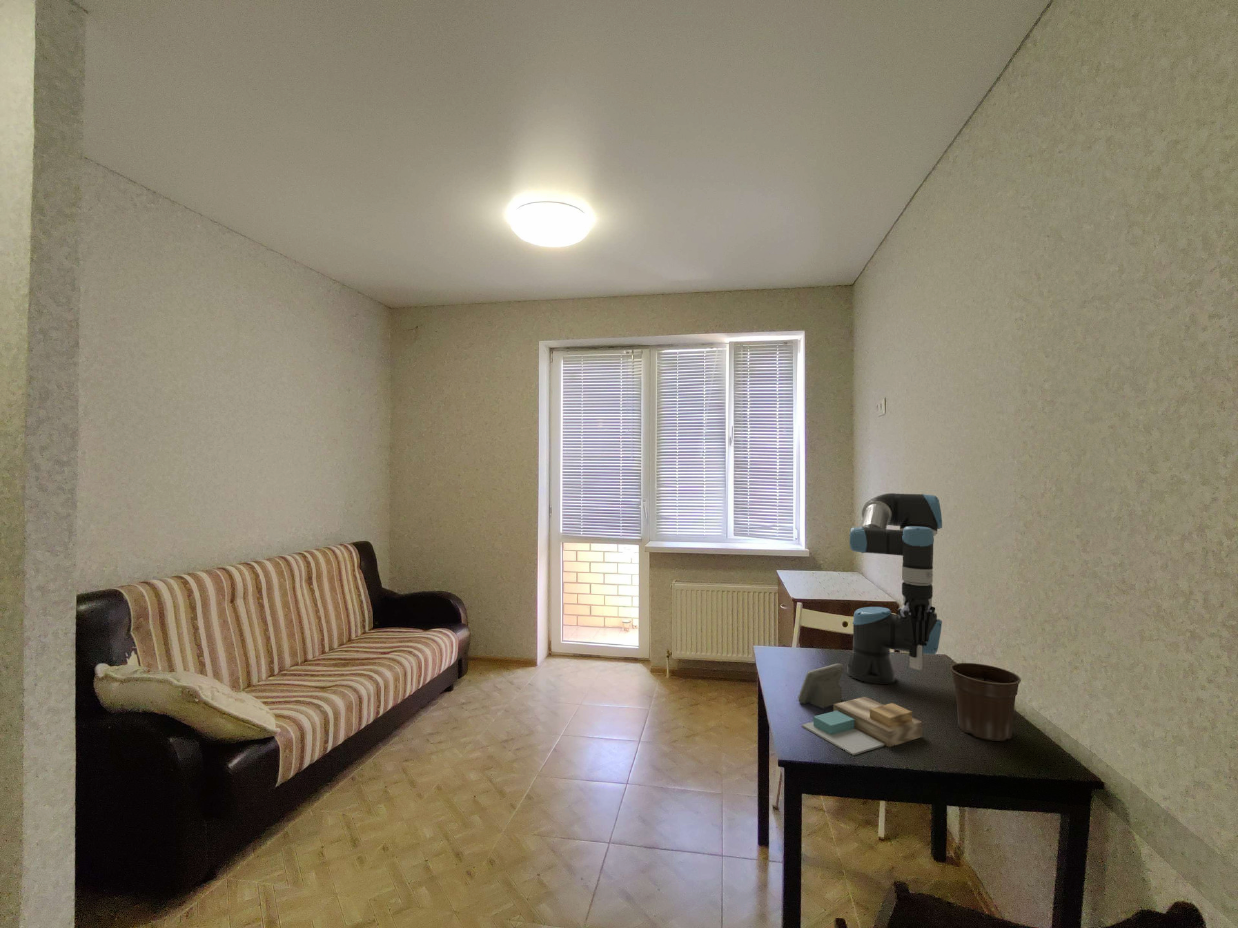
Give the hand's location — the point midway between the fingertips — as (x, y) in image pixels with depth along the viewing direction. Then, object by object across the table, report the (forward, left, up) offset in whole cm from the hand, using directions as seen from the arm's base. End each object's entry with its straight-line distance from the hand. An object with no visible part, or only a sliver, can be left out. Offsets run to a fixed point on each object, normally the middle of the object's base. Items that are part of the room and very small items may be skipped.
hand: (915, 668), depth 155 cm
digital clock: (+10, -24, -17) cm, 31 cm away
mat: (+23, -5, -16) cm, 28 cm away
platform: (+10, -5, -16) cm, 20 cm away
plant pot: (-16, +9, -17) cm, 25 cm away
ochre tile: (+10, 0, -12) cm, 16 cm away
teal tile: (+21, -9, -16) cm, 28 cm away
